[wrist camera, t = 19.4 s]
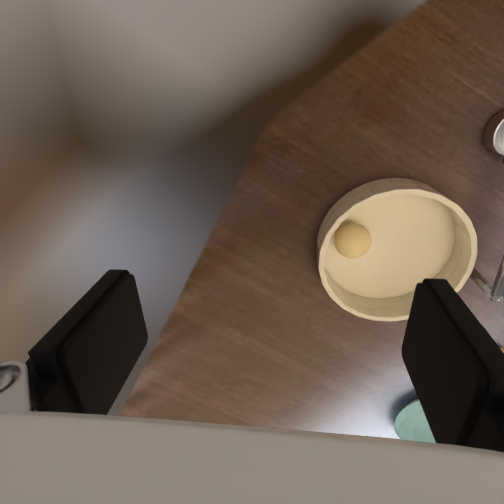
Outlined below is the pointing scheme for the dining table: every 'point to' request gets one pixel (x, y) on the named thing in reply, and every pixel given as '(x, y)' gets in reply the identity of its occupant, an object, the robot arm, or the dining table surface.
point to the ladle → (500, 142)
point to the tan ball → (352, 240)
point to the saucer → (413, 424)
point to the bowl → (395, 247)
